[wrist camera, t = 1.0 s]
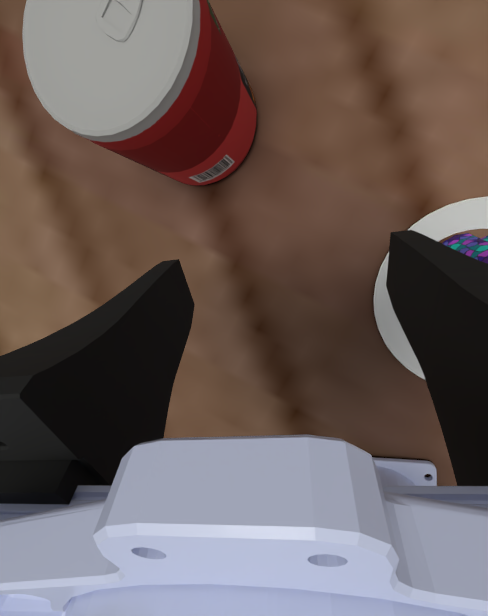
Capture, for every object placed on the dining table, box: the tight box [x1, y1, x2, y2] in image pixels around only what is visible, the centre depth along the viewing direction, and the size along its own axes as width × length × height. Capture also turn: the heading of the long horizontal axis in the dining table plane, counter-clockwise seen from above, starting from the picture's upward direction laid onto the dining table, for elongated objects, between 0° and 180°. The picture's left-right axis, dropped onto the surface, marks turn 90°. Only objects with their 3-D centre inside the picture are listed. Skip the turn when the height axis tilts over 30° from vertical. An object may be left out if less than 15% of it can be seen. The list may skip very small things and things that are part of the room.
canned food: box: [23, 0, 257, 185], centre depth 18 cm, size 8×8×11 cm
